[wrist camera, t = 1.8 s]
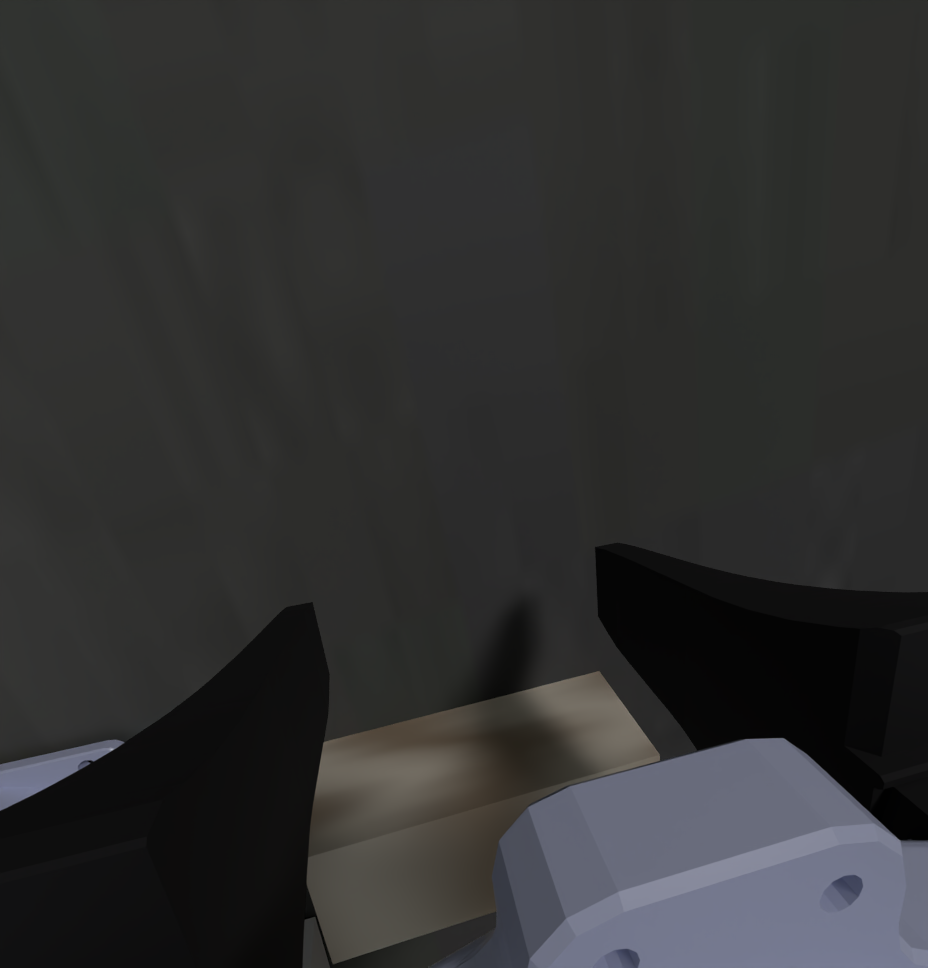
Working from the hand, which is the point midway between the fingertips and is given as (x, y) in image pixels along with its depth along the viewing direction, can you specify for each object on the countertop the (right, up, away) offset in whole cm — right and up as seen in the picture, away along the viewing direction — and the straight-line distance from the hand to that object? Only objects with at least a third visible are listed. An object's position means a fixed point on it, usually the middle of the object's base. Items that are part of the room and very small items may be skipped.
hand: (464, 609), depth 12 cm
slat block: (0, -6, +5) cm, 8 cm away
